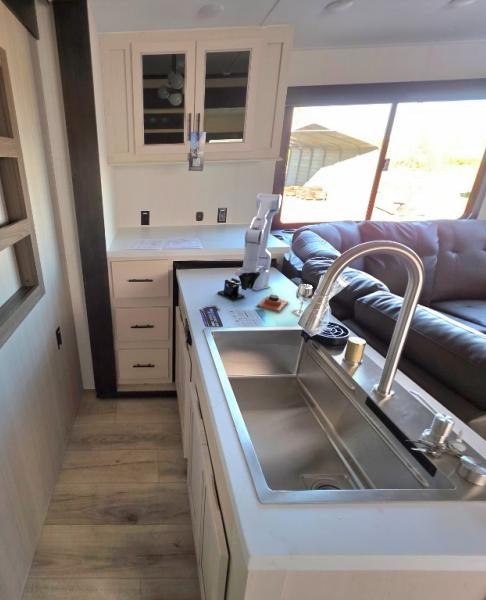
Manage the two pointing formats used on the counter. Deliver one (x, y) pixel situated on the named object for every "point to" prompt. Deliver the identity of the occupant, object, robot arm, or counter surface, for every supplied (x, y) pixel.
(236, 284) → the lever
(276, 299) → the button
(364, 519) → the counter surface
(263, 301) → the block
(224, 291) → the bracket
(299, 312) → the wineglass
